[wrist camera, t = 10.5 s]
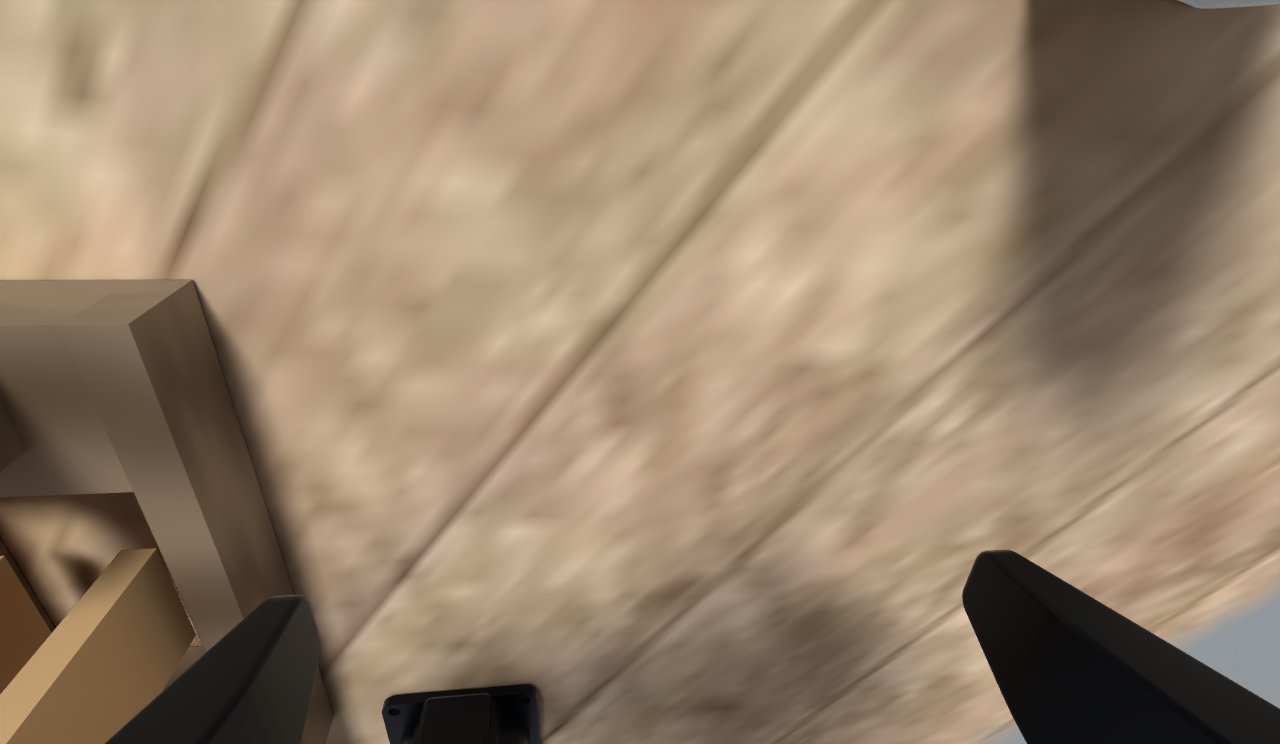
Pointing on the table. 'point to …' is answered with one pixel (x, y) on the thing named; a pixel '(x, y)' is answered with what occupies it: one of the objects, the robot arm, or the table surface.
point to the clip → (89, 653)
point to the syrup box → (1228, 3)
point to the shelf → (141, 440)
